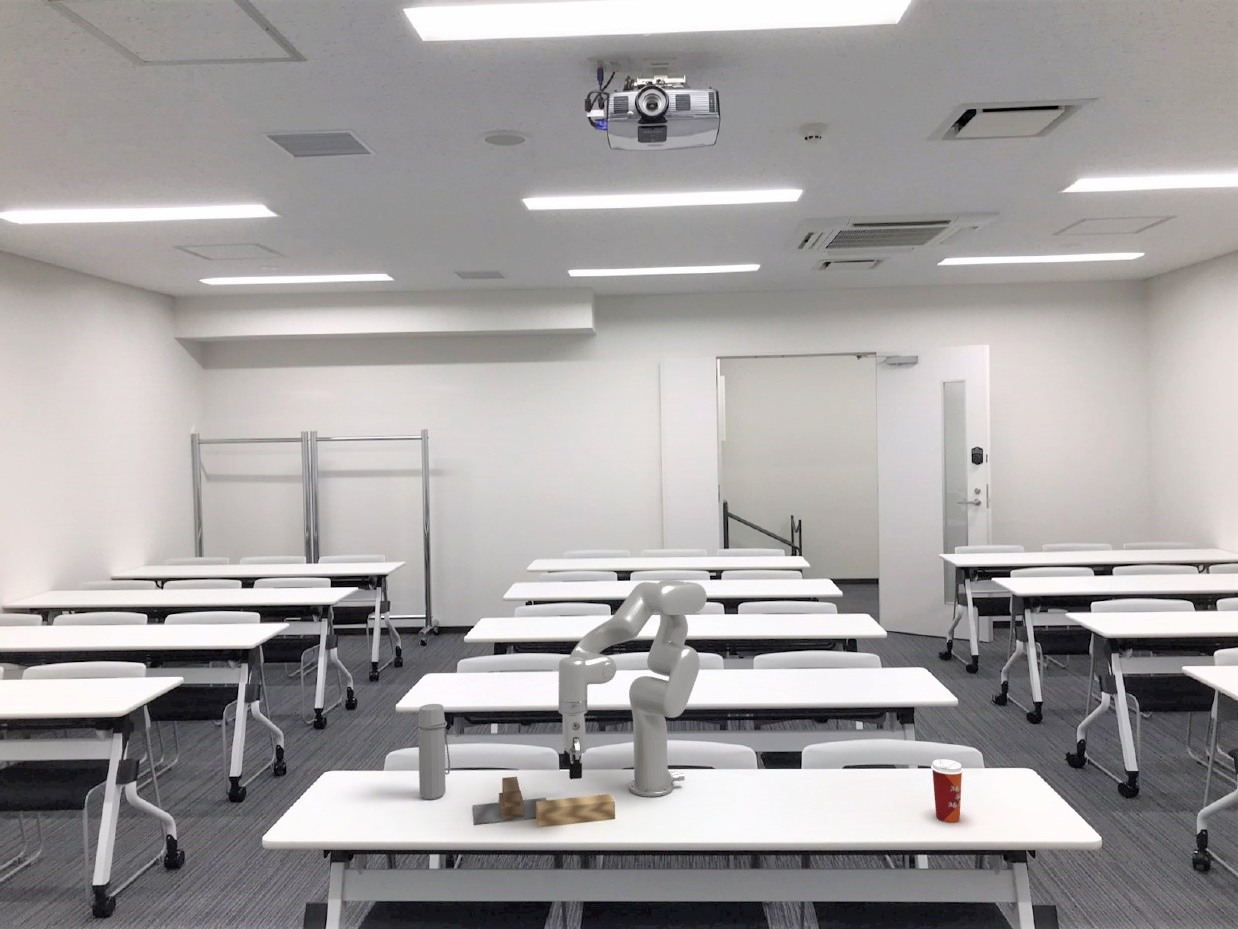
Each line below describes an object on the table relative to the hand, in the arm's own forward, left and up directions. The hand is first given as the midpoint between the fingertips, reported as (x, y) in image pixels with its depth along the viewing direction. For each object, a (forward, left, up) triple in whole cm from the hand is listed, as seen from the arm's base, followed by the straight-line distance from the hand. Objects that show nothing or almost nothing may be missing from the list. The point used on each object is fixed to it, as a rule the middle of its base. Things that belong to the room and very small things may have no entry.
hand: (572, 772), depth 219 cm
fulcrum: (+15, -9, -13) cm, 22 cm away
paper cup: (-94, +23, -13) cm, 97 cm away
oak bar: (-1, 0, -13) cm, 13 cm away
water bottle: (+35, -26, -13) cm, 46 cm away
